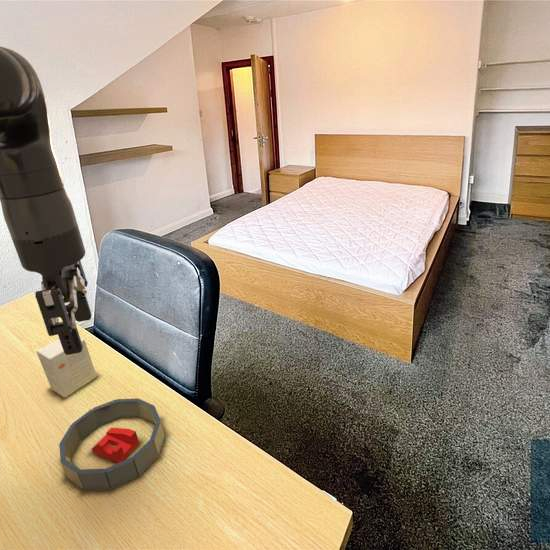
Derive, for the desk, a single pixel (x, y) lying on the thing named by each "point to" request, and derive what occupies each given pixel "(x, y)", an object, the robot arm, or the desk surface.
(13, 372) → the desk surface
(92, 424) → the grey segmented ring
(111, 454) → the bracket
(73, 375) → the small box
